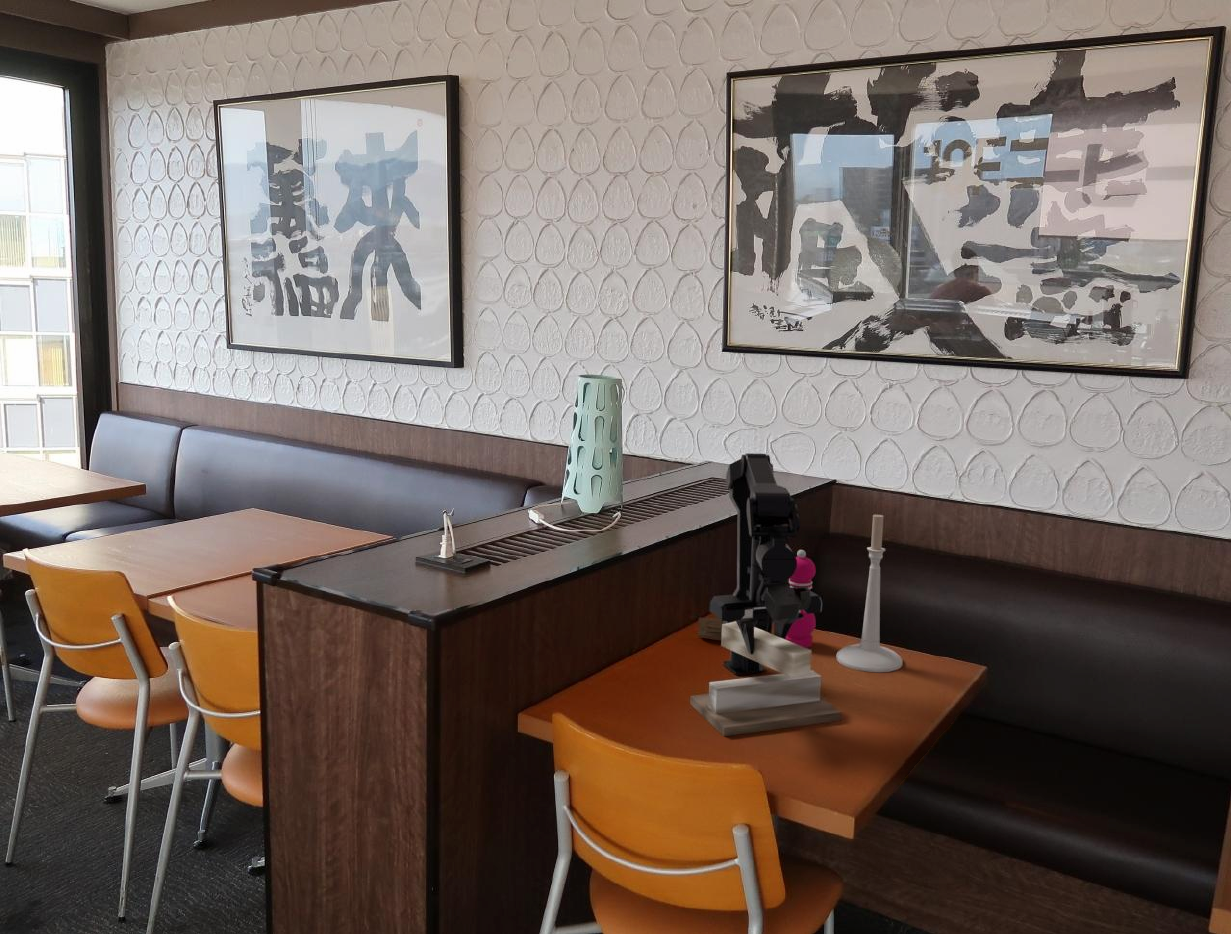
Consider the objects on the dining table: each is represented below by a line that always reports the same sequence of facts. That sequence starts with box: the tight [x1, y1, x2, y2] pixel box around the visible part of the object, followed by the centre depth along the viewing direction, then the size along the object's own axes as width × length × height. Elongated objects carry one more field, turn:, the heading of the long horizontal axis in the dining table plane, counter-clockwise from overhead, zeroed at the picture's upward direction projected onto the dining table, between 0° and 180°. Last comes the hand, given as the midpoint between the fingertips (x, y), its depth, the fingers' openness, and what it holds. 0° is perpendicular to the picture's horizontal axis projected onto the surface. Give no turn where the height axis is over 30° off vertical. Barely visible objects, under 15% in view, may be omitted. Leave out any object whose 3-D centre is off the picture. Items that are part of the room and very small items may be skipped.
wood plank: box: [697, 617, 774, 641], centre depth 217 cm, size 15×2×5 cm, turn 86°
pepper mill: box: [785, 549, 817, 649], centre depth 215 cm, size 7×7×20 cm
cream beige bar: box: [720, 621, 812, 678], centre depth 179 cm, size 18×4×4 cm, turn 35°
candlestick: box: [835, 513, 904, 673], centre depth 205 cm, size 13×13×30 cm
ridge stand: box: [689, 669, 842, 737], centre depth 180 cm, size 14×22×6 cm, turn 109°
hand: (764, 652), depth 179 cm, fingers closed on cream beige bar, 5 cm apart
